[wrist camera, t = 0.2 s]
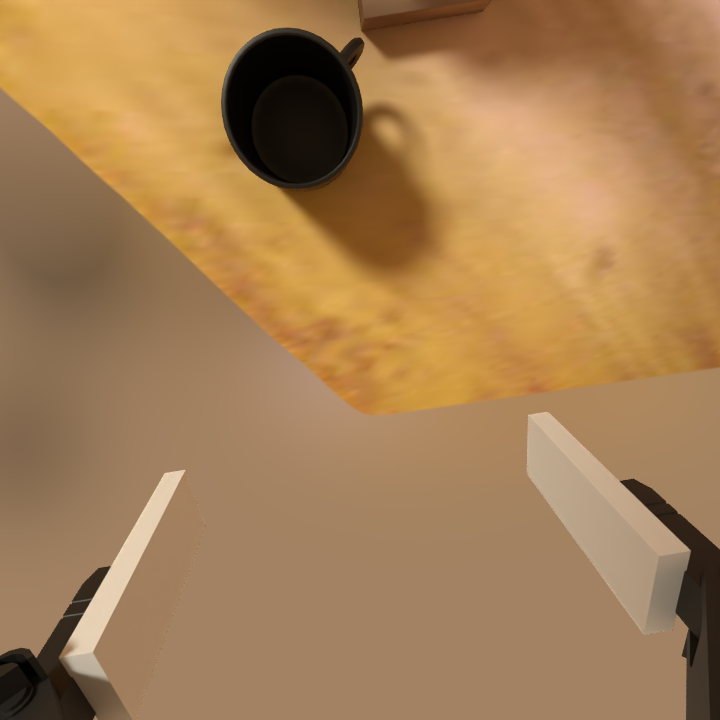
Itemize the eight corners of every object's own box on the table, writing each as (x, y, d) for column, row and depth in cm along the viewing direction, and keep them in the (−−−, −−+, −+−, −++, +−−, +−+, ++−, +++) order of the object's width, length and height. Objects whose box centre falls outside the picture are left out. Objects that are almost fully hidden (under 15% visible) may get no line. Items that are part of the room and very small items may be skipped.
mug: (397, 107, 36) (419, 79, 27) (306, 213, 38) (301, 218, 30) (314, 11, 33) (311, -52, 24) (222, 134, 35) (191, 114, 27)
